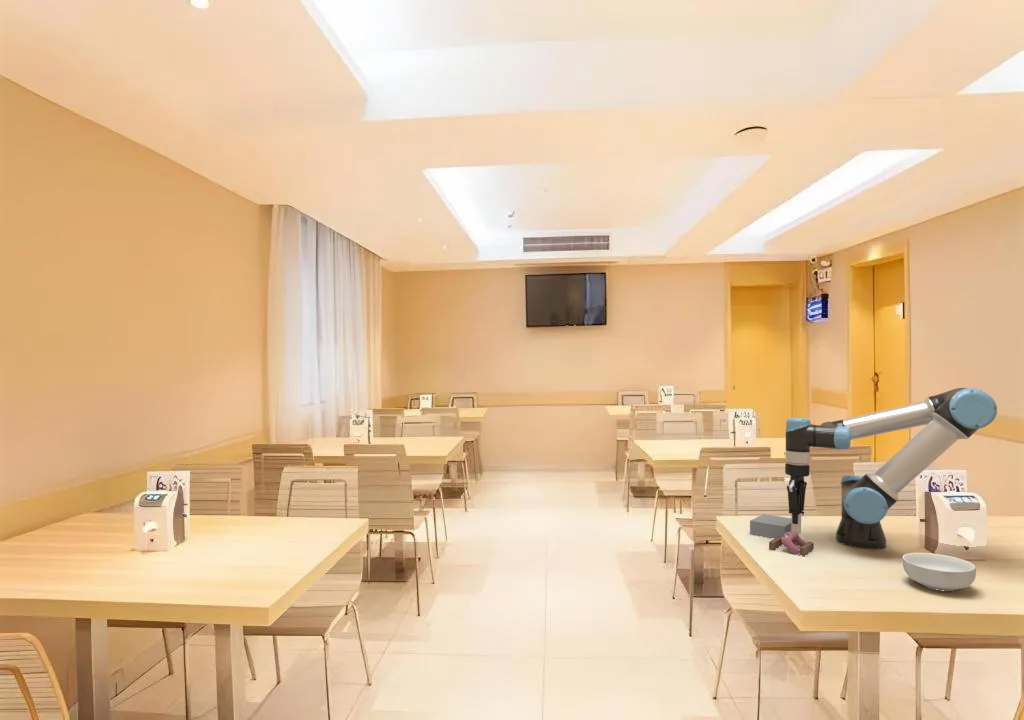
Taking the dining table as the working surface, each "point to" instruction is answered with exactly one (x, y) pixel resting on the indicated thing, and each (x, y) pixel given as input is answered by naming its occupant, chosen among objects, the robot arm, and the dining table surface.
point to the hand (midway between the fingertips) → (796, 532)
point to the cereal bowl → (939, 571)
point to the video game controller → (792, 541)
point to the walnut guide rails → (803, 549)
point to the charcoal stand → (770, 526)
